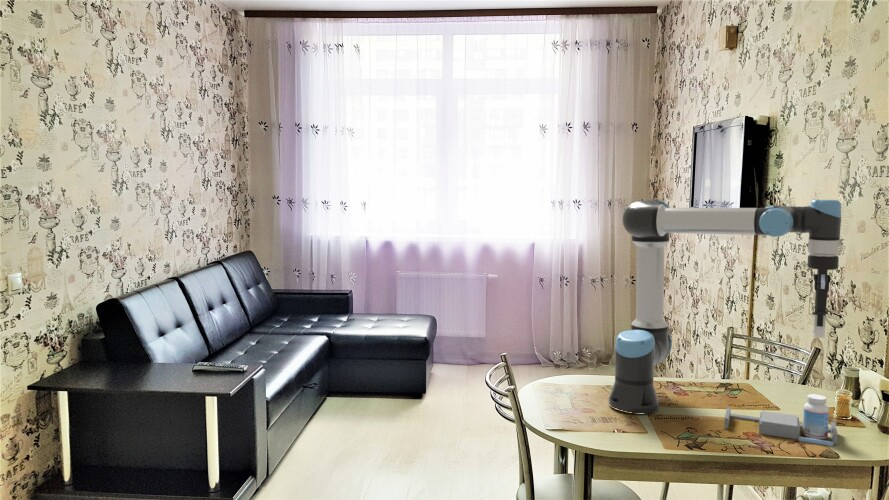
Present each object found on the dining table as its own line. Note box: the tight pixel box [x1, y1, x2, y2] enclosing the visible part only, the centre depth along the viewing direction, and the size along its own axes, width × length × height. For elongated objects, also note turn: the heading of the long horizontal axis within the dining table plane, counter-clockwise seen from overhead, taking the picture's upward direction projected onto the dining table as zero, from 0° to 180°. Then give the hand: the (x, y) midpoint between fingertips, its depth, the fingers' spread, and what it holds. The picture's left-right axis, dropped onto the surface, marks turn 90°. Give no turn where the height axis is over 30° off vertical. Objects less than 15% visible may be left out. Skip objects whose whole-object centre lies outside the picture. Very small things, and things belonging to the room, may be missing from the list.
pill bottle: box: [802, 393, 830, 440], centre depth 183 cm, size 6×6×11 cm
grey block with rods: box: [723, 407, 839, 447], centre depth 188 cm, size 28×13×4 cm, turn 63°
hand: (818, 336), depth 187 cm, fingers closed
